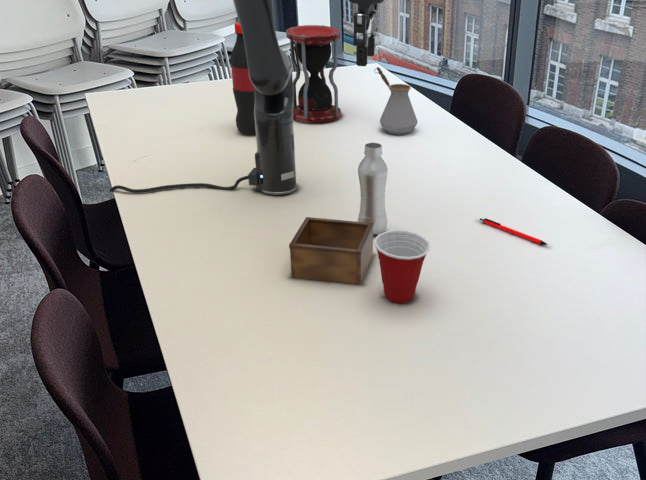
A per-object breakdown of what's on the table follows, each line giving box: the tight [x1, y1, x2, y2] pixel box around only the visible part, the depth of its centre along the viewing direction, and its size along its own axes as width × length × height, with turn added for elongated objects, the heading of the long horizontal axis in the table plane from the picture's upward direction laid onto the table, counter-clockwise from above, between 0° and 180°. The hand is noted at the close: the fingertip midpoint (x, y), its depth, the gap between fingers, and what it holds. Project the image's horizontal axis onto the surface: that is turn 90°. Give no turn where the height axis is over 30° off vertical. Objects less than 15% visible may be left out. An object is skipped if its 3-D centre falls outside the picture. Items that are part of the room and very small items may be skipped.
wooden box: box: [288, 216, 374, 285], centre depth 159 cm, size 15×14×7 cm
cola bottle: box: [229, 22, 256, 137], centre depth 219 cm, size 8×8×30 cm
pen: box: [479, 217, 548, 246], centre depth 175 cm, size 1×19×1 cm, turn 47°
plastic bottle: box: [357, 142, 389, 236], centre depth 169 cm, size 6×7×20 cm
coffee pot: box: [373, 66, 418, 136], centre depth 231 cm, size 21×12×15 cm, turn 26°
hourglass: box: [285, 24, 342, 125], centre depth 234 cm, size 16×16×25 cm
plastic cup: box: [374, 229, 431, 304], centre depth 148 cm, size 11×11×12 cm
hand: (365, 60), depth 164 cm, fingers open, 8 cm apart
